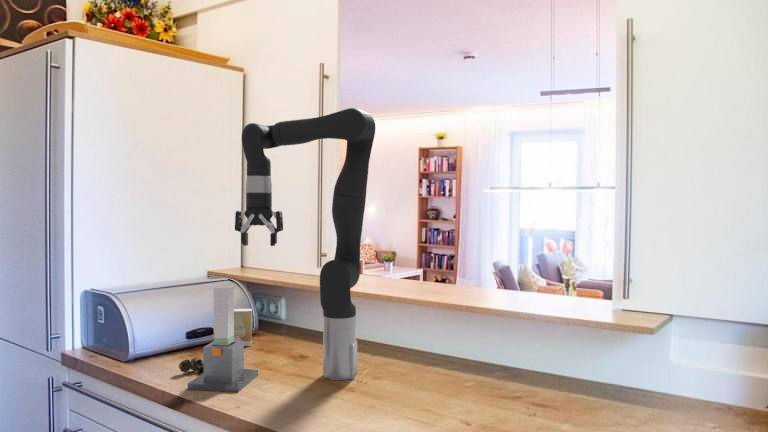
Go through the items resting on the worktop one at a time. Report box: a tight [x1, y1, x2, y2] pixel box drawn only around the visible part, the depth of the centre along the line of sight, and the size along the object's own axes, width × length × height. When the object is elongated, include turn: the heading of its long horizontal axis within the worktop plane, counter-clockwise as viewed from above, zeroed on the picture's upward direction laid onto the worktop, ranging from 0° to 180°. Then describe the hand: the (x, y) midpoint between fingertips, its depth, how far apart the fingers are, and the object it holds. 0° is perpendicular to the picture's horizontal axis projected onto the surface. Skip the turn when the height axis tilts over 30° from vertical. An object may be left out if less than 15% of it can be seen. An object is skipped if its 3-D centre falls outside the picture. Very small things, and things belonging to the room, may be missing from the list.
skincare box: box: [234, 308, 253, 347], centre depth 188 cm, size 6×4×12 cm
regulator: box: [178, 357, 204, 376], centre depth 159 cm, size 8×4×15 cm
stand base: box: [187, 340, 259, 393], centre depth 150 cm, size 14×14×10 cm
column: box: [213, 285, 235, 347], centre depth 150 cm, size 4×4×18 cm
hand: (259, 245), depth 164 cm, fingers open, 8 cm apart
